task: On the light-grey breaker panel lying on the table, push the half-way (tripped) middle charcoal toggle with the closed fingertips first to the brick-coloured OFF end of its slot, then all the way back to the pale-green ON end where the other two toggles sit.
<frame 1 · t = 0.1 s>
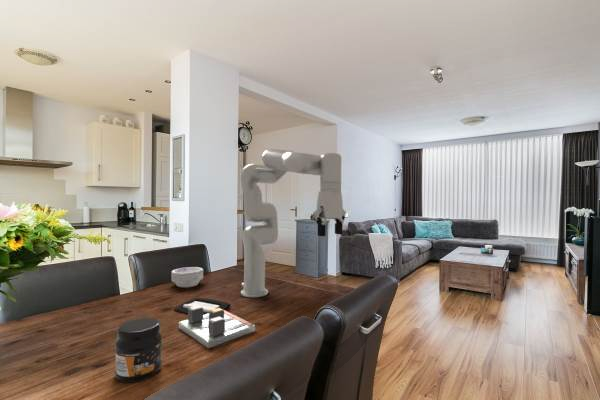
hand: (330, 235, 111), 31 cm above the table, fingers open, 9 cm apart
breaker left: (195, 313, 105), point 4 cm above the table, slide at 0.0 cm
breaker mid: (216, 316, 103), point 4 cm above the table, slide at 4.0 cm
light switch: (202, 310, 122), on the table
supplement container: (138, 372, 77), on the table
breaker right: (216, 325, 95), point 4 cm above the table, slide at 0.0 cm
grey round bowl: (187, 285, 155), on the table
panel: (216, 329, 103), on the table
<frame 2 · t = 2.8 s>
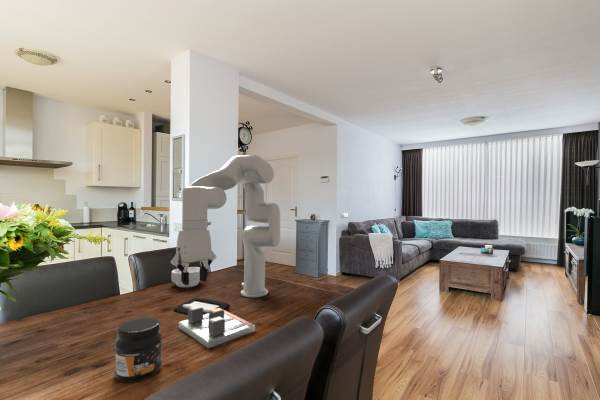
hand: (194, 282, 97), 17 cm above the table, fingers open, 5 cm apart
nothing on the table moved.
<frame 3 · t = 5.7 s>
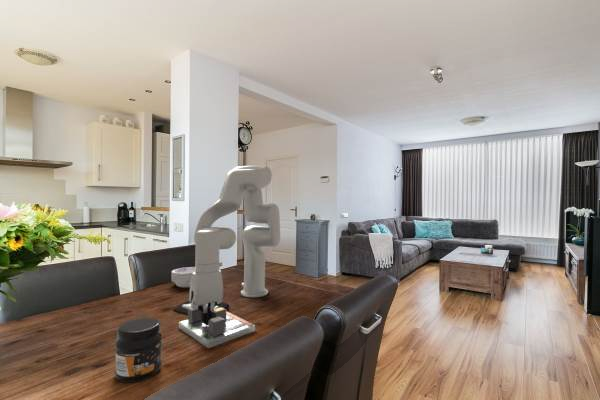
hand: (206, 323, 100), 3 cm above the table, fingers closed
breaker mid: (218, 315, 103), point 4 cm above the table, slide at 4.8 cm, touching gripper
everything else where it was.
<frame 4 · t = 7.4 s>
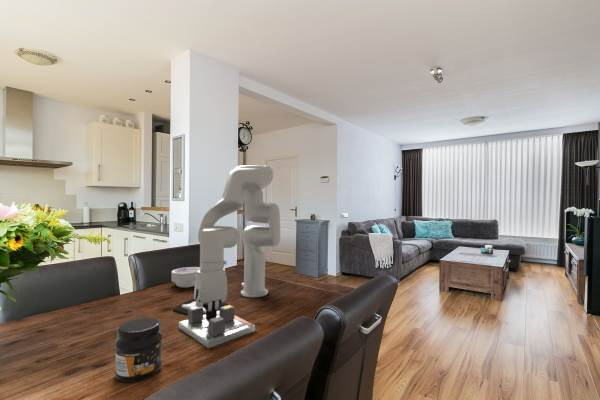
hand: (211, 321, 101), 3 cm above the table, fingers closed
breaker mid: (227, 313, 105), point 4 cm above the table, slide at 8.1 cm
everything else where it was.
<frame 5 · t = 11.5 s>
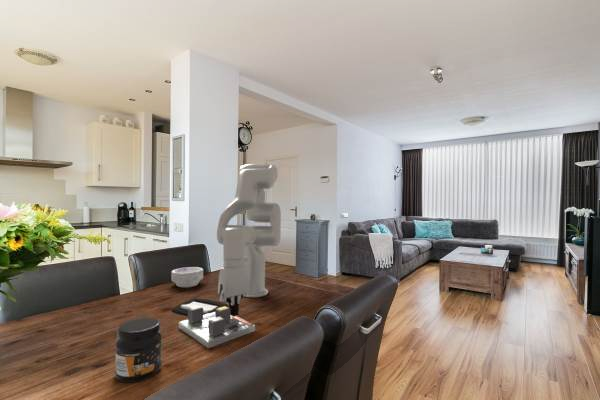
hand: (233, 314, 107), 3 cm above the table, fingers closed
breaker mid: (222, 314, 104), point 4 cm above the table, slide at 6.4 cm, touching gripper
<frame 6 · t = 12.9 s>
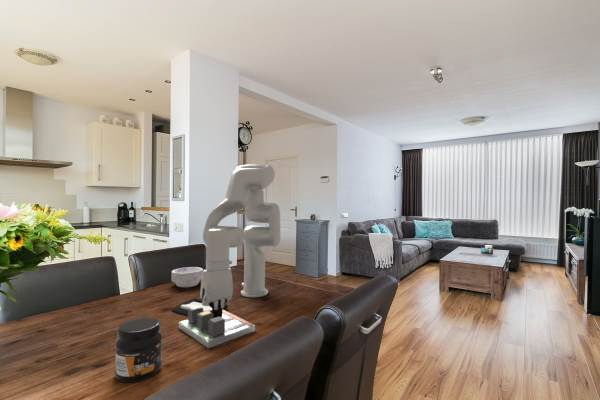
hand: (217, 319, 103), 3 cm above the table, fingers closed
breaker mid: (205, 319, 100), point 4 cm above the table, slide at -0.1 cm, touching gripper
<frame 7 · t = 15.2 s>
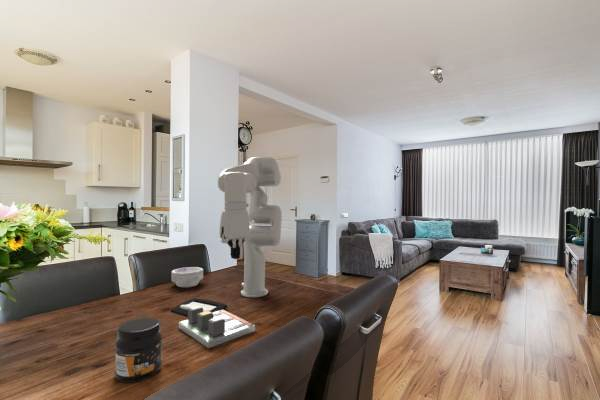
hand: (235, 258, 109), 23 cm above the table, fingers closed
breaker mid: (205, 319, 100), point 4 cm above the table, slide at -0.1 cm
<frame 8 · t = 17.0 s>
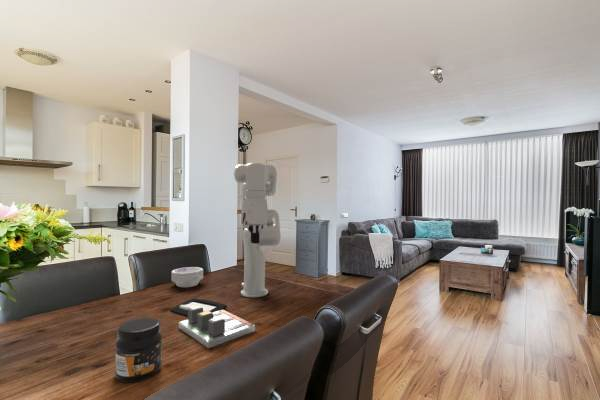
hand: (255, 242, 117), 27 cm above the table, fingers closed
at the end: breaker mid slide at -0.1 cm; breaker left slide at 0.0 cm; breaker right slide at 0.0 cm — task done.
